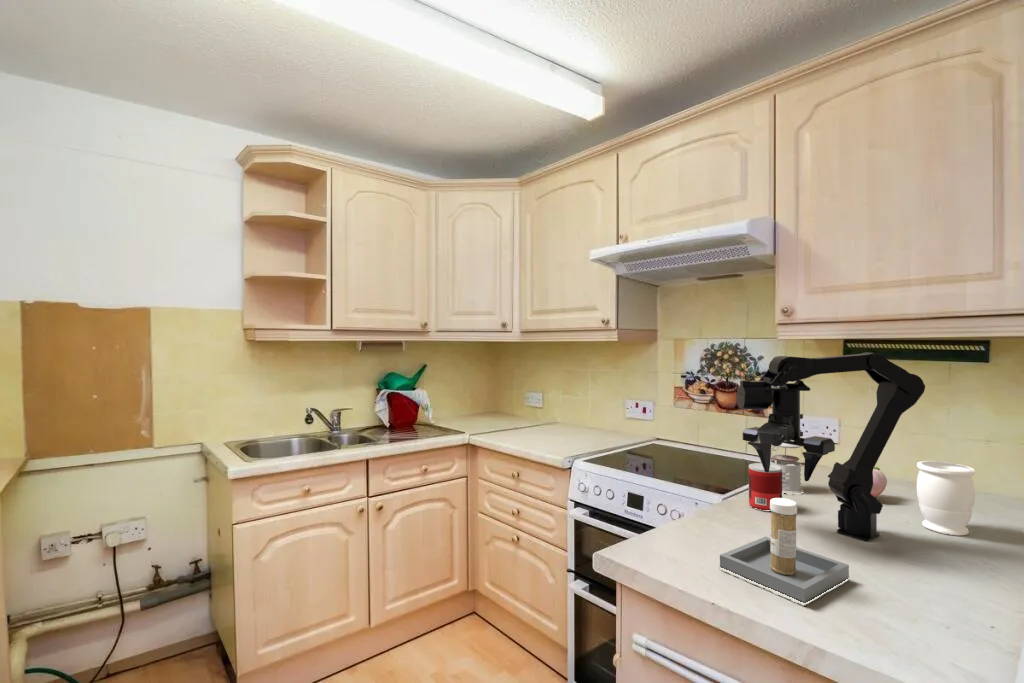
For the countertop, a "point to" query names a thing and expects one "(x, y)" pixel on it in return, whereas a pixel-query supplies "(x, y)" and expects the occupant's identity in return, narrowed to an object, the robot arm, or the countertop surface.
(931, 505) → the jar
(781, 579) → the box
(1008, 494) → the countertop surface
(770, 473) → the canned food
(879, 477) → the decorative fruit
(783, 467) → the french press
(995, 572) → the countertop surface
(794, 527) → the sprinkles bottle
